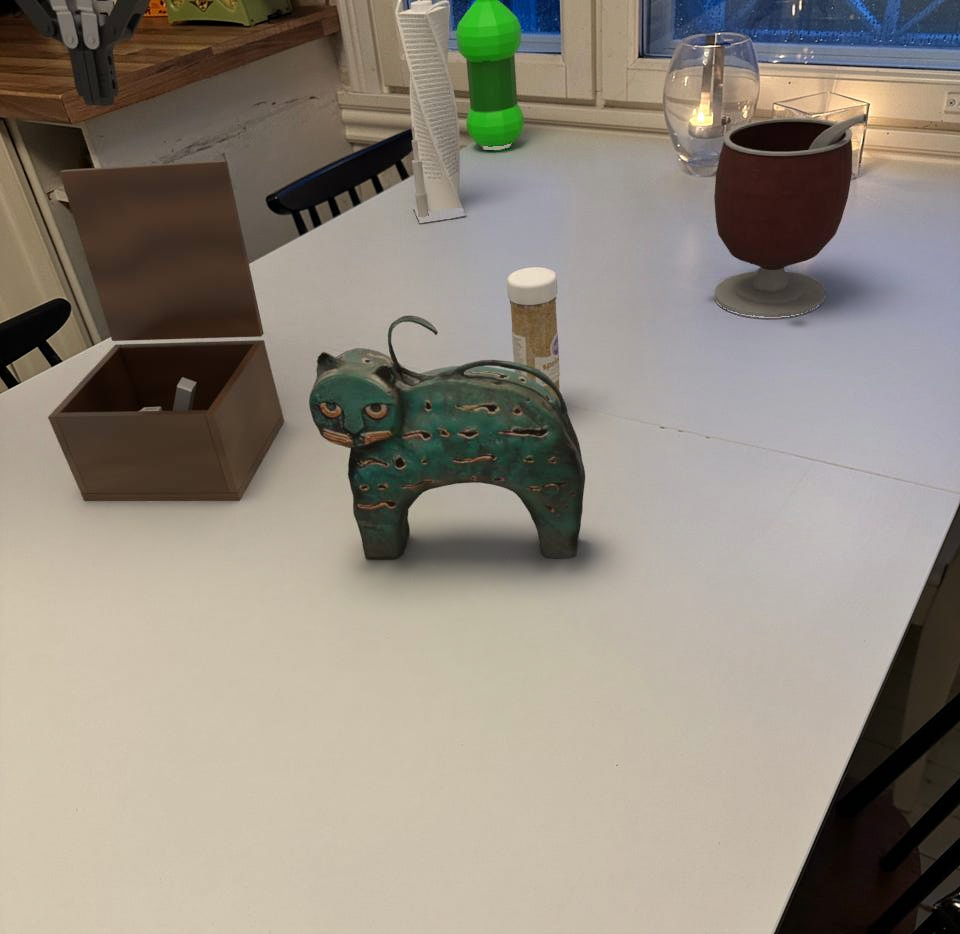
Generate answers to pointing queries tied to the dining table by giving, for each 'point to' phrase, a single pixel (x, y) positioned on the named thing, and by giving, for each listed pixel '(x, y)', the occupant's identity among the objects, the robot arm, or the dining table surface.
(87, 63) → the robot arm
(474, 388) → the ceramic cat
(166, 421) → the chest
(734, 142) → the mate gourd
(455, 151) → the skyscraper
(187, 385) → the lighter
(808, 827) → the dining table surface
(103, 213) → the lid
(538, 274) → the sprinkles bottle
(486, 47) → the plastic bottle
